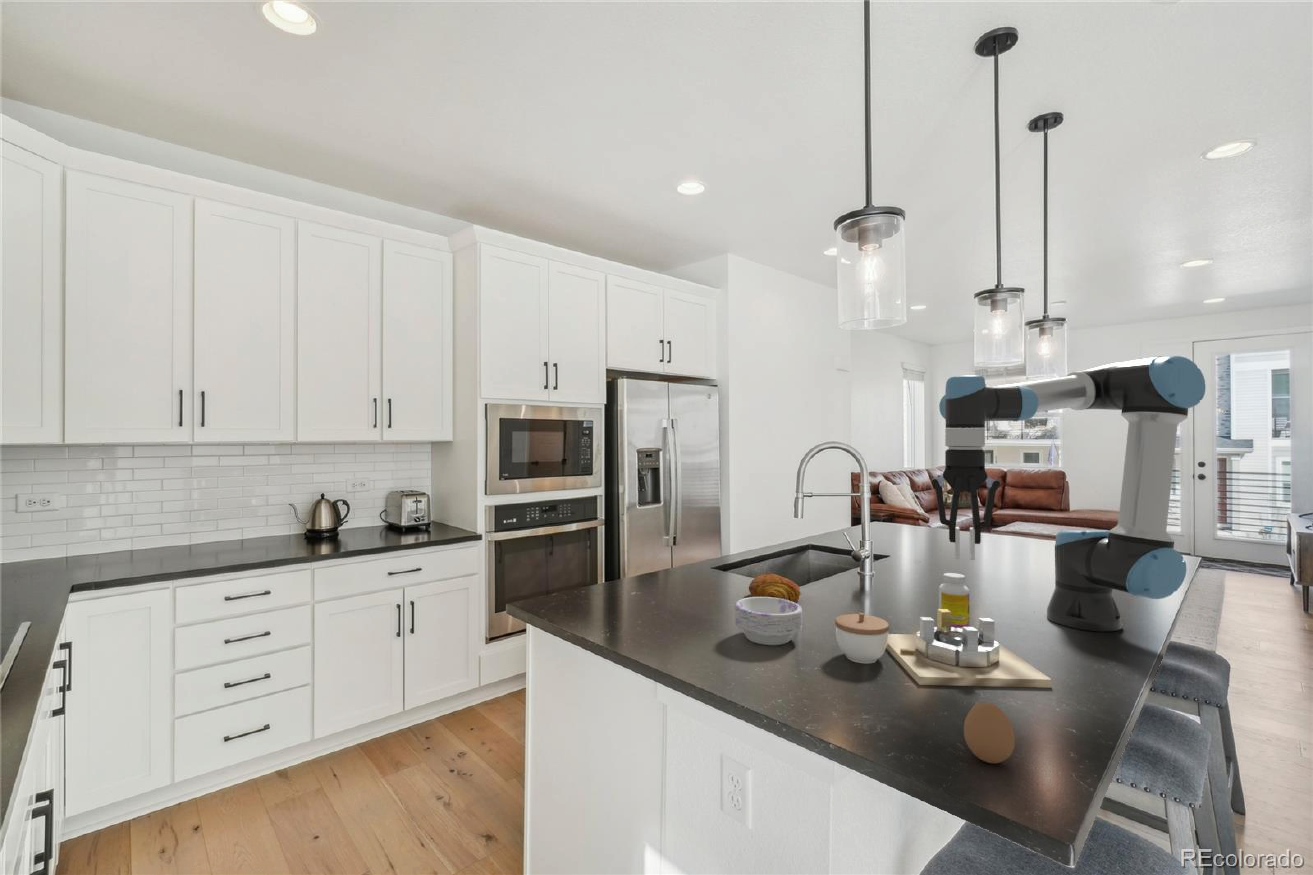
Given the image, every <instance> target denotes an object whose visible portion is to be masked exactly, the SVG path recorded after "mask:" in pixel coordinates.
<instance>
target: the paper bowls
mask: <svg viewBox="0 0 1313 875" xmlns="http://www.w3.org/2000/svg"><path fill="white" fill-rule="evenodd" d="M734 612H735V613H734V620H735V621H734V623H735V626H736V627H737V628H738V629H740V630H742V631H743V633H744V636H745V637H746V638H747V639H748V640H749V641H751V642H752V643H755V644H759V645H765V646H781V645H785V644H787V643H789V642H790V641H791V640H792V638H793V637H794V635H797V634H799V633H800V632H802V629H803V608H802V606H801V605H800V604H798V603H797V602H795V603H794V602H792V601H789V600H785V599H780V598H773V597H752V596H749V597H744V598H741V599H739V600H737V601H736V602H735V608H734Z"/></svg>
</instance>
